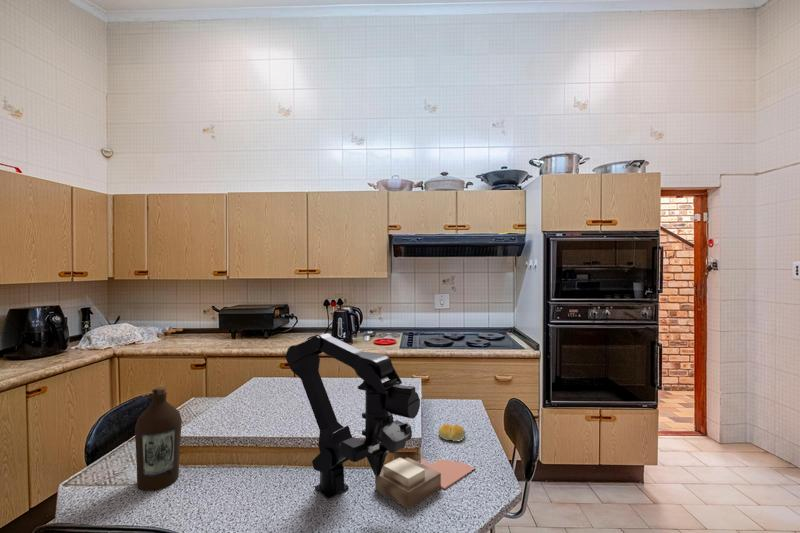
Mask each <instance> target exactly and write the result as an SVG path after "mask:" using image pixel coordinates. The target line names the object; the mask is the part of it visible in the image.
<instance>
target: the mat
mask: <svg viewBox="0 0 800 533" xmlns="http://www.w3.org/2000/svg"><path fill="white" fill-rule="evenodd" d="M425 458H426V457H424V458H422V459H421V460H422V464H423V465H425V466H427V467H429V468H431V469H433V470H435V471H438V472H440V473H441V490H442V489H443V490H447V489H448V488H450V487H451V486H453V485H454V484H455V482H456V483H457V482H458V480H459V481H461V480H462V479H463V478H465V477H466V476H468V475H469V474H470V473H469V472H471V471H472V470H473V469H475V470H476V468H475V467H474V466H471V465H469V464H467V463H465V462H462V461H460V460H458V461H459V462H455V461H454V460H453V461H454V462H453V461H450V460H441V458H439V457H438V458H439V459H440V460H441V461H440V460H439V459H437V458H436V459H437V461H438V462H437V461H434V462H436V464H435V463H434V462H433V461H431V463H433V464H434V465H433V464H430V463H429V462H427V461H425V460H424V459H425ZM425 462H426V463H425ZM427 463H428V464H429V465H428V464H427ZM472 467H473V468H472ZM472 472H473V471H472ZM472 472H471V473H472ZM468 473H469V474H468ZM467 474H468V475H467ZM465 475H466V476H465ZM464 476H465V477H464ZM461 478H462V479H461Z"/></svg>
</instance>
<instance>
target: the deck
mask: <svg viewBox="0 0 800 533" xmlns="http://www.w3.org/2000/svg"><path fill="white" fill-rule="evenodd" d="M403 459H404V460H406V461H408V462H410V463H412V464H415V465H417V466H419V467H421V468H423V469H425V478H423V479H422V480H420V481H418V482H416V483H415V484H413V485H411V486H410V487H407V486H406V485H404V484H402V483H400V482H398V481H397V480H395V479H393V478H391V477H389V476H388V475H386V474H384V473H383V469H382V470H381V473H380V475H379V476H376V475H374V476H375V477H374V479H375V482H374V484H375V485H374V487H375V488H374V490H377V491H378V492H380V493H382V494H383V495H385V496H386V497H388V498H390V499H391V500H393V501H394V502H396V503H397V504H400V505H401V506H403V507H405V509H407V510H410V509H411V508H413V507H415V506H417V505H418V504H420V503H421V502H422V501H424V500H426V499H428V497H430V496H432V495H433V494H435V493H436V492H438V491H440V490H442V488H441V473H440V472H438V471H435V470H433V469H431V468H429V467H427V466H425V465H423V464H421V463H419V461H417V460H414V459H412V458H410V457H405V458H403Z"/></svg>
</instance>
